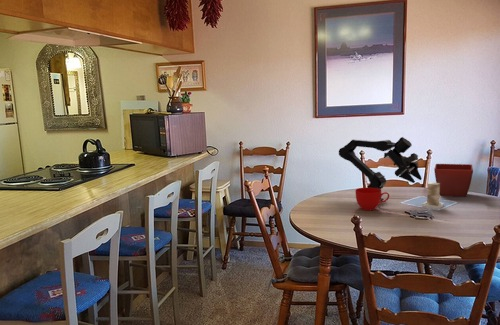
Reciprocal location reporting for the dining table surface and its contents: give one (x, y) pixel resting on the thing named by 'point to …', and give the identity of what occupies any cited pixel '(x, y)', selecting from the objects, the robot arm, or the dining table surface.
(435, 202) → the maple pillar
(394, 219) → the dining table surface
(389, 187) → the dining table surface
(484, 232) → the dining table surface
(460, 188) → the plant pot
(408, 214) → the dining table surface
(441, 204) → the collar
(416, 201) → the board
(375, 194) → the ceramic cup
